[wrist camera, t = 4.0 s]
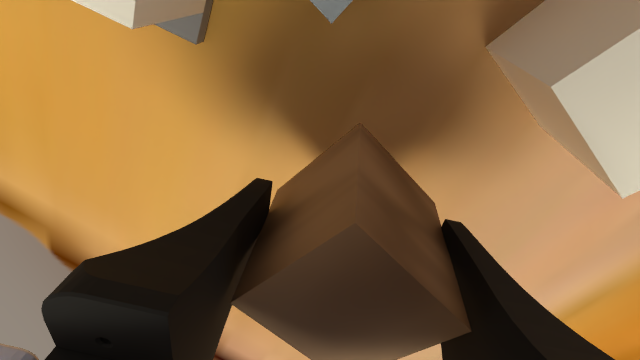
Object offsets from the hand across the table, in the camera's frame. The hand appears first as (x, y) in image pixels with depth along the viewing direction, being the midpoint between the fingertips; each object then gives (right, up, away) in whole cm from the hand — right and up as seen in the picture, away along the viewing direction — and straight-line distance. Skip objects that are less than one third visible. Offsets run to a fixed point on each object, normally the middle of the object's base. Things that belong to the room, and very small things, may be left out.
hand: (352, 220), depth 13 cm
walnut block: (0, +1, +1) cm, 2 cm away
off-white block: (+9, +7, +1) cm, 12 cm away
